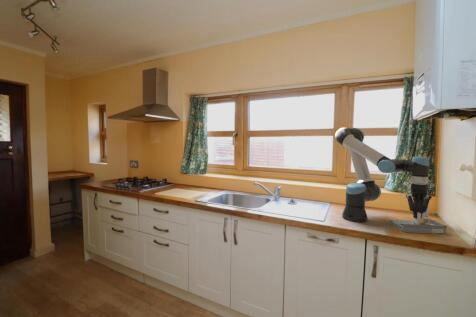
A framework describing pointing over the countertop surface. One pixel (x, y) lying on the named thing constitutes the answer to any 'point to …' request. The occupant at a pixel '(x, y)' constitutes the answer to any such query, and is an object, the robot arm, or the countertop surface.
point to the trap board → (418, 226)
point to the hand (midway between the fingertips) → (417, 223)
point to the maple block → (424, 221)
